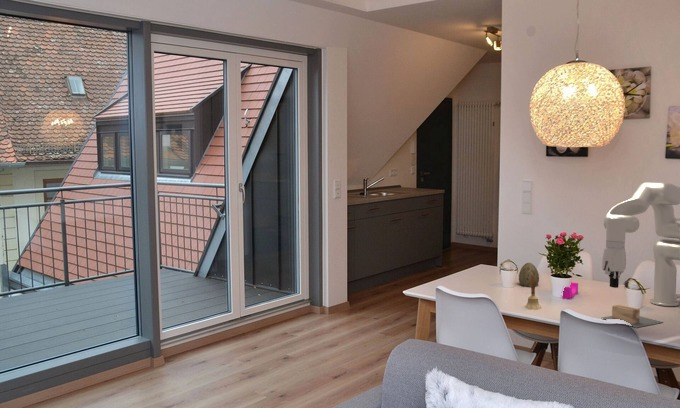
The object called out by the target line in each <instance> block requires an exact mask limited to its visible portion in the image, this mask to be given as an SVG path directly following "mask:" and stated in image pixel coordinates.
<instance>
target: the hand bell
mask: <svg viewBox="0 0 680 408" xmlns="http://www.w3.org/2000/svg"><path fill="white" fill-rule="evenodd" d="M530 285H531V287H530V288H531V290H530V292H531V293H530V294H531V295H530V296H528V299H527V303H526V305H524V308H525V309H527V310H542V309H543V307H542V306H541V305H540V302H539V297H537V296H536V289H535V288H536V287H537V286H536V280H535V276H532V277H531V280H530ZM535 286H536V287H535Z"/></svg>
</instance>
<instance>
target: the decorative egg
mask: <svg viewBox="0 0 680 408" xmlns="http://www.w3.org/2000/svg"><path fill="white" fill-rule="evenodd" d="M532 276H535V280H536V286H535V288H536V287H537V286H538V285H539V282H540V274H539V271H538V269H537V267H536V266H535V265H534V264H533V263H532V262H527V263H525V264H523V265H522V266H521V269H520V271H519V274H518V281H519V284H520V286H521V287H525V288H531V285H530V280H531V277H532Z"/></svg>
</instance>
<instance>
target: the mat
mask: <svg viewBox="0 0 680 408" xmlns="http://www.w3.org/2000/svg"><path fill="white" fill-rule="evenodd" d="M602 318H603V319H602V320H604V319H612V315H610V316H603V317H602ZM663 323H664V321H661V320H658V319H657V320H656V319H652V318H649V317H645V316H641V315H640V319H639V323H636V324H631V325H632V326H633V327H632V328H634V329H639V328H644V327H645V328H646V327H649V326H654V325H658V324H659V325H660V324H663Z"/></svg>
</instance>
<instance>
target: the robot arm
mask: <svg viewBox="0 0 680 408" xmlns="http://www.w3.org/2000/svg"><path fill="white" fill-rule="evenodd" d="M679 205H680V187H679V186H678V185H675V184H672V183H669V182H666V181H665V182H664V181H661V182H660V181H645V182H642V183H641V184H640V185H639V186H638V187H637V188H636V190H635V191H634V193H633V194H632V196H631V197H630V198H629V199H627V200H624V201H622V202H620V203H617V204H615V205H614V206H613V207H611V209H609V210H608V212H607V213H606V215H605V218H604V219H603V227H604V229H605V231H606V233H605V235H606V236H605V248H604V250H603V255H602V264H601V265H602V266H601V267H602V268H601V269H602V270H603V271H605V272H604V274H605V275H608V278H609V288H610V287H611V288H613V289H614V288H615V289H617V288H619V281H620V278H621V275H622V274H623V273H625V270H626V267H627V253H626V233H627V234H628V233H629V234H631V233H632V234H633V233H636V232H637V230H639V229H640V221H639V218H638V217H636V216H637V215H641V214H643V213H645V212H646V211H647V210H648V209H649V207H650V206H651V207H652V209H653V215H654V216H653V217H654V230H655V234H656V235H657V236H658V237H661V239H660V238H659V239H657V240H655V241H654V243H653V246H652V250H653V251H652V252H653V258H654V276H653V277H654V278H653V279H654V281H653V282H654V286H653V298H651V299H650V301H649V303H651V304H653V305H658V306H663V307H677V306H679V305H680V302H679V301H678V300H677V299H680V293H679V294H677V275H678V274H677V272H678V270H677V269H678V268H677V266H676V264H675V262H674V261H680V218H676V217H675V209H674V206H679ZM635 215H636V216H635ZM665 238H666V239H665ZM669 238H670V239H669Z"/></svg>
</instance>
